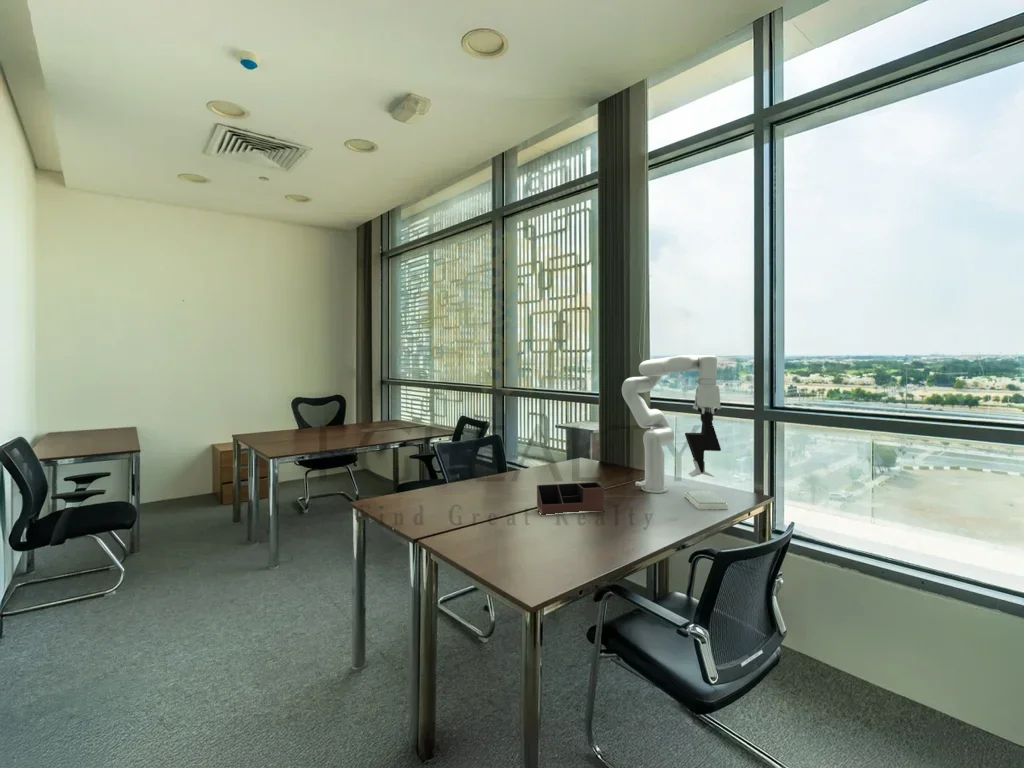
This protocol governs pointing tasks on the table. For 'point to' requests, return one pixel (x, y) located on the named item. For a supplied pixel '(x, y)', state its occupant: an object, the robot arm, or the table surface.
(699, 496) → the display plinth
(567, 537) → the table surface
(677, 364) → the robot arm
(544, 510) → the desk organizer
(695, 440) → the award
